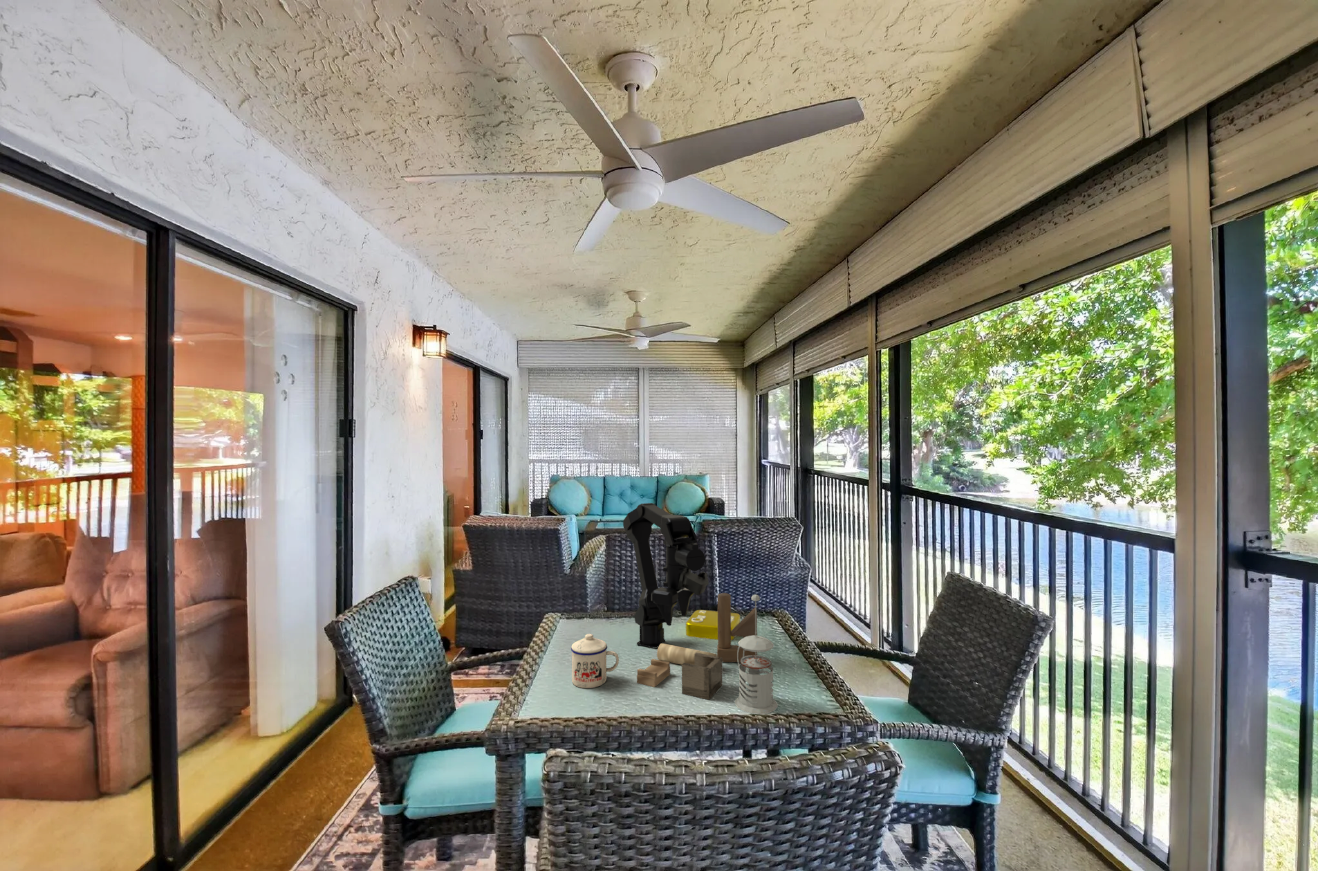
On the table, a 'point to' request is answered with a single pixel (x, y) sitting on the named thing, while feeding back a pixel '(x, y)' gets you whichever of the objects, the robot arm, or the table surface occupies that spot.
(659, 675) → the block
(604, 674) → the teacup with lid
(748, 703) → the french press
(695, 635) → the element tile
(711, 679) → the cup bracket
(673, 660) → the rod
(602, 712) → the table surface
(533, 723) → the table surface
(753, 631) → the brown post stand
